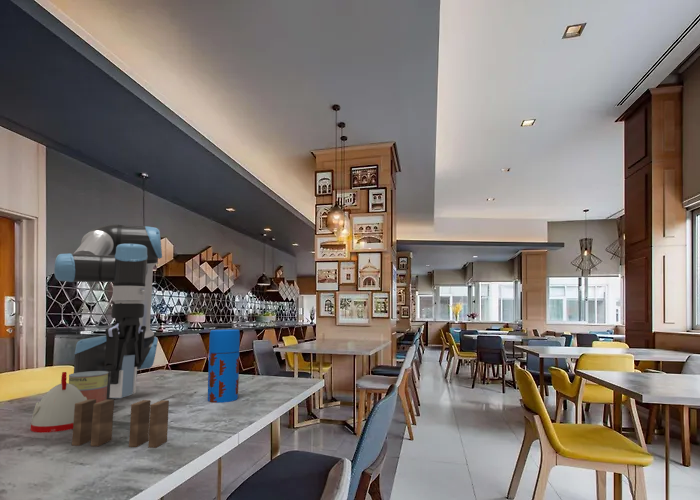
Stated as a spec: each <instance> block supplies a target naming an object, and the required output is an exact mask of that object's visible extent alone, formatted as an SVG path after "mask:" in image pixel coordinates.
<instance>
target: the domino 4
mask: <svg viewBox="0 0 700 500" xmlns="http://www.w3.org/2000/svg"><path fill="white" fill-rule="evenodd" d="M150 405H151V400H150V399H142V400H139V401H137V402H135V403H132V404H131V405H130V420H129V421H130V422H129V436H128V437H129V440H128V448H138V447H139V446H142V445H144V444H145V443H147V442H149V423H150Z"/></svg>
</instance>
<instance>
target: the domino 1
mask: <svg viewBox="0 0 700 500" xmlns="http://www.w3.org/2000/svg"><path fill="white" fill-rule="evenodd" d="M95 403H96V399H88V400H85V401H82V402H79V403H75V409H74V423H73V429H72V437H71V438H72V439H71V446H72V447H73V446H75V447H77V446H78V447H80V446H82V445H84V444H86V443H88V442H89V443H90V442H91V433H92V419H93V405H94V404H95Z"/></svg>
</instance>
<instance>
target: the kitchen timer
mask: <svg viewBox="0 0 700 500" xmlns="http://www.w3.org/2000/svg"><path fill="white" fill-rule="evenodd" d="M67 378H68V377H67V371H62V372H61V381H60V383H59V384H57V385H55V386H53V387H52V388H51V389H49V390H48V391H47V392H46V393H45V394H44V395H43V397H42V398H41V400H40V401H36V403H35V407H34V410H33V412H32V418H31V422H30V431H31V432H33V433H40V434H41V433H44V434H45V433H57V432H64V431H69V430H73V423H74V409H75V403H79V402H82V401H85V400H87V398H86V397H84V396H83V394H82V393H81V392H80V391H79V390H78V389H77V388H76V387H75V386H73V385H71V384H69V382H68V383H67Z"/></svg>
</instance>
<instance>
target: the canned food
mask: <svg viewBox="0 0 700 500" xmlns="http://www.w3.org/2000/svg"><path fill="white" fill-rule="evenodd" d="M108 373H109V372H108V371H87V372H79V373H74V372H73V373H70V374H69V375H68V384H71V385H73V386H75V387H76V388H77V389H78V390H79V391H80V392H81V393H82V394H83V396H84V397H86V398H87V400H88V399H96V403H98V402H101V401H104V400H106V398H107V383H108Z"/></svg>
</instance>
